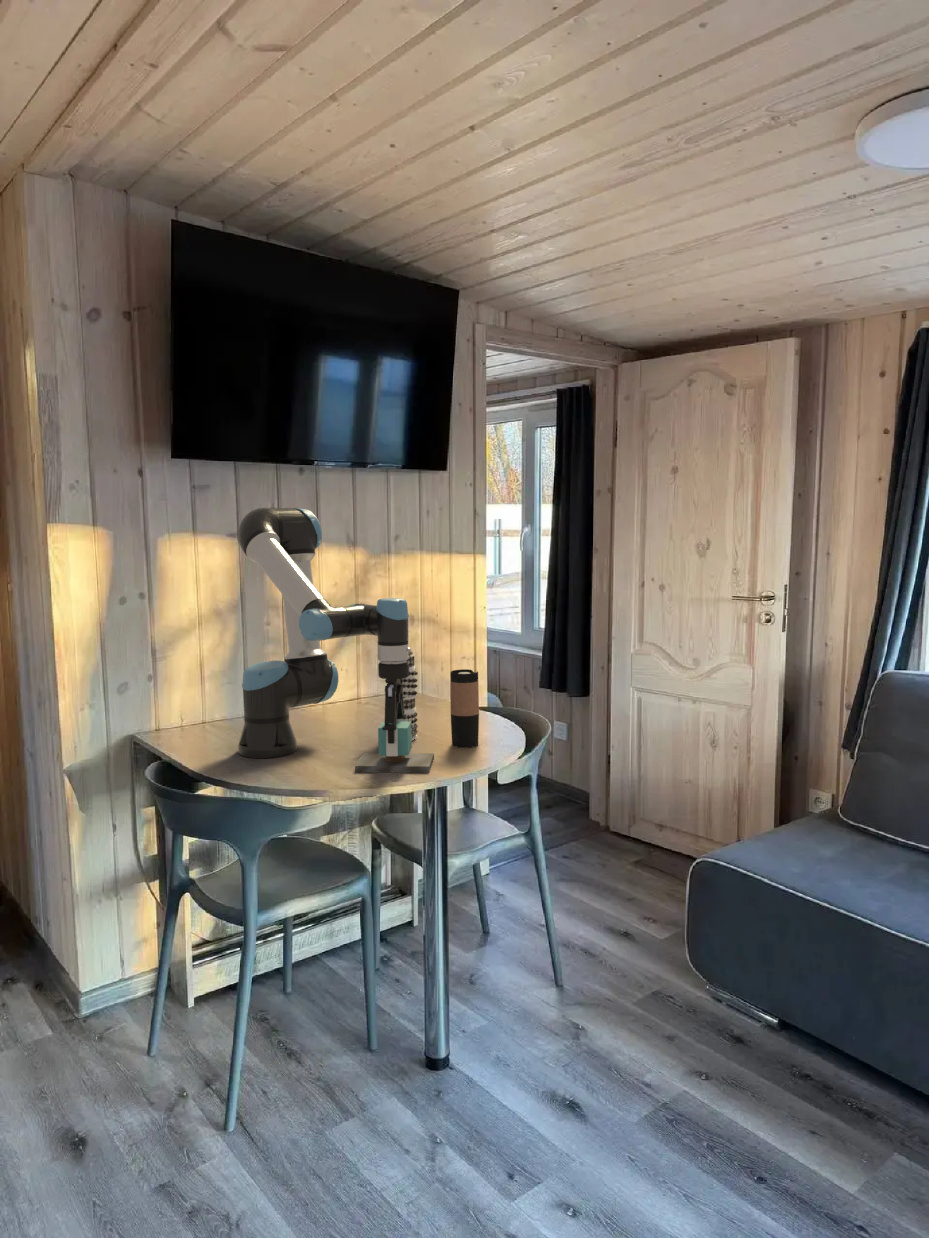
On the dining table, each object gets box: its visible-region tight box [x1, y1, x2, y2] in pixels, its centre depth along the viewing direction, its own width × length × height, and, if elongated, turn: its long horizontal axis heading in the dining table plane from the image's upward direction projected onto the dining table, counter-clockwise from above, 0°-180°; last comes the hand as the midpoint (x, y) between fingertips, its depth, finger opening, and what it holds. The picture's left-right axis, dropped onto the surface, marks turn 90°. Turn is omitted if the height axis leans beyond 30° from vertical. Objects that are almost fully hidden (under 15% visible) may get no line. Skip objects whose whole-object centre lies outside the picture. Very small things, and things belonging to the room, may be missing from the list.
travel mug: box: [450, 668, 480, 748], centre depth 232 cm, size 8×8×20 cm
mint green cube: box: [377, 720, 413, 756], centre depth 213 cm, size 7×7×7 cm
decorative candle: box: [384, 650, 419, 741], centre depth 240 cm, size 9×9×25 cm
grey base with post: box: [354, 752, 435, 774], centre depth 213 cm, size 18×12×10 cm, turn 87°
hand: (395, 750), depth 213 cm, fingers open, 10 cm apart
